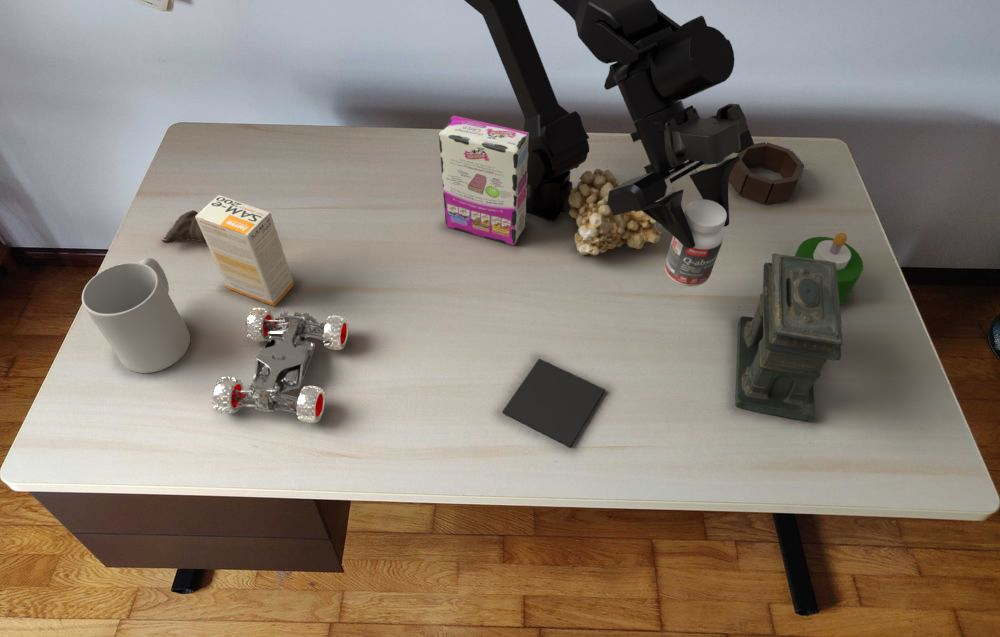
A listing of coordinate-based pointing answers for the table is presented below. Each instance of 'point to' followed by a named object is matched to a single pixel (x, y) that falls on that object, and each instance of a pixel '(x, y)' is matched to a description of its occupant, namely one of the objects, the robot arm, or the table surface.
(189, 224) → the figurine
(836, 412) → the table surface
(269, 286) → the supplement box
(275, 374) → the toy car
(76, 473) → the table surface
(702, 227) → the pill bottle
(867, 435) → the table surface
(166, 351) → the mug
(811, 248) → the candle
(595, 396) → the rubber mat
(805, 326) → the model
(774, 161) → the holder ring
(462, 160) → the candy bar box
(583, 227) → the mineral formation
